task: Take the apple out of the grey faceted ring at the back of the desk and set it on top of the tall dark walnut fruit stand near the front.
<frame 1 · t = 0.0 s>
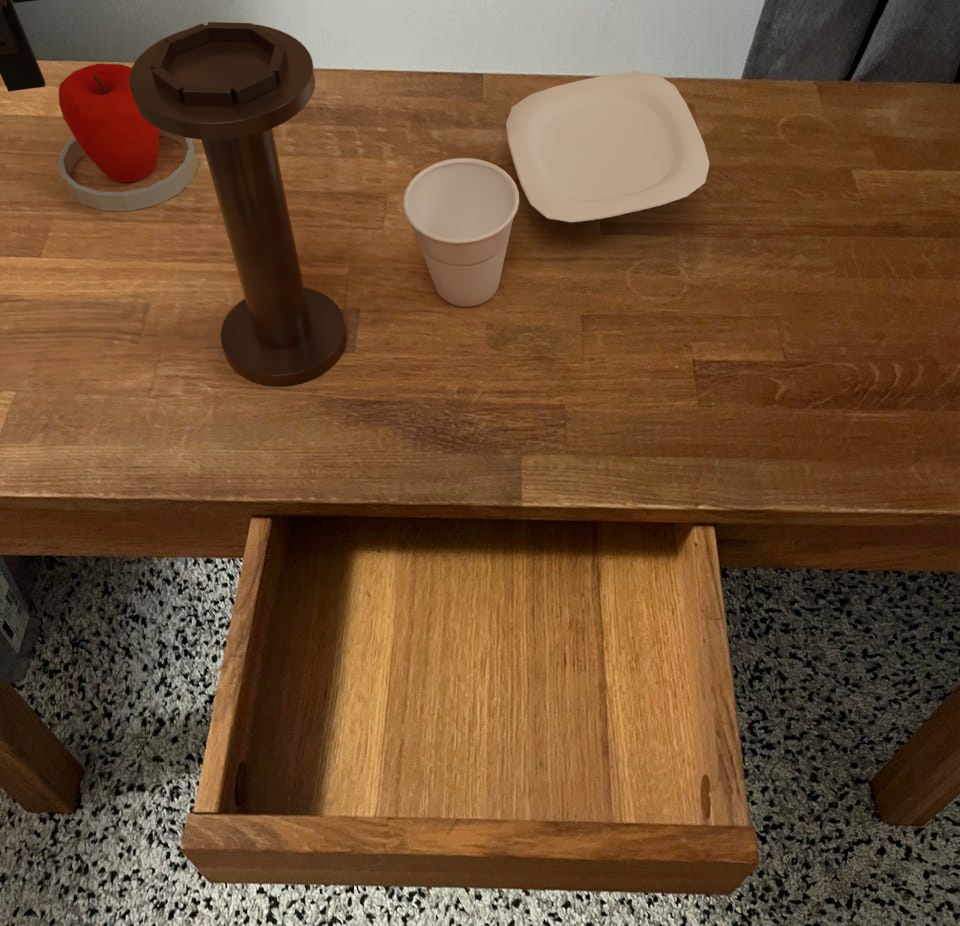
hand: (28, 41, 71), 20 cm above the table, tool pointing down, fingers open, 13 cm apart
cup: (467, 285, 84), on the table
apple: (132, 171, 93), resting in grey faceted ring
plate: (604, 156, 86), point 6 cm above the table
grey faceted ring: (132, 169, 93), on the table
holder: (221, 69, 58), on the table
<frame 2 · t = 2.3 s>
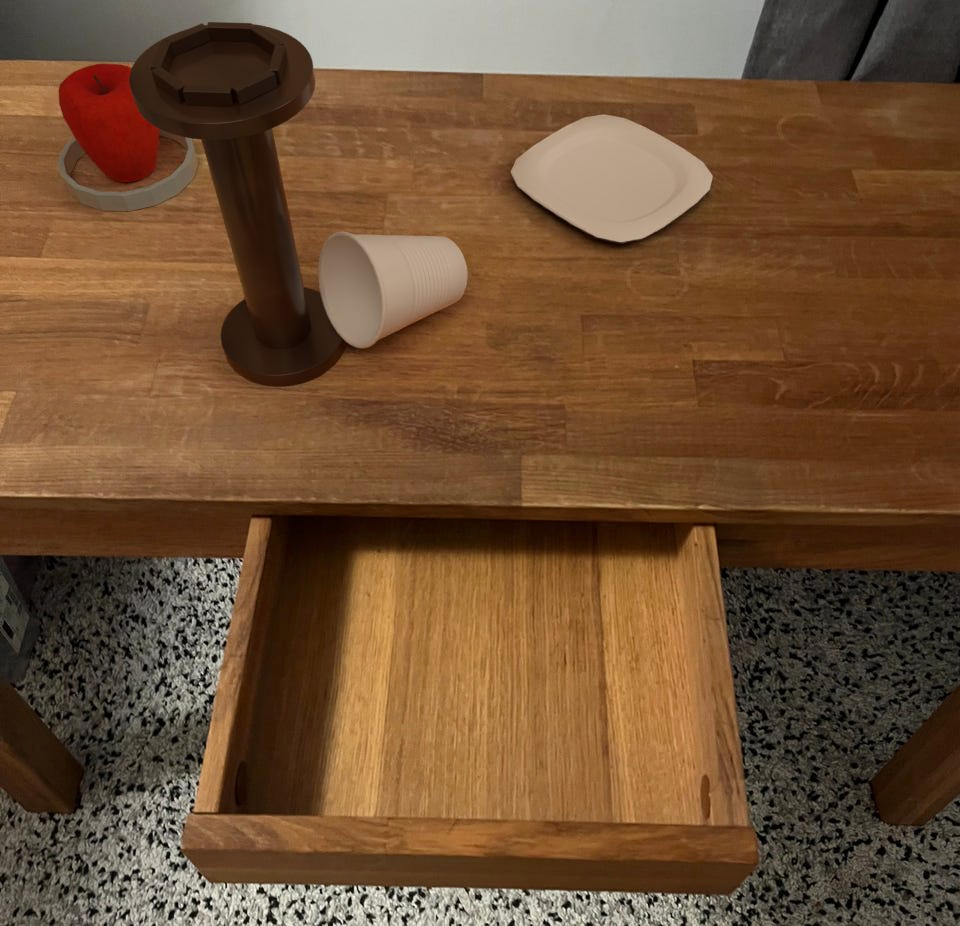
cup: (450, 269, 80), point 3 cm above the table, touching holder
plate: (609, 187, 93), on the table
everything else where it was.
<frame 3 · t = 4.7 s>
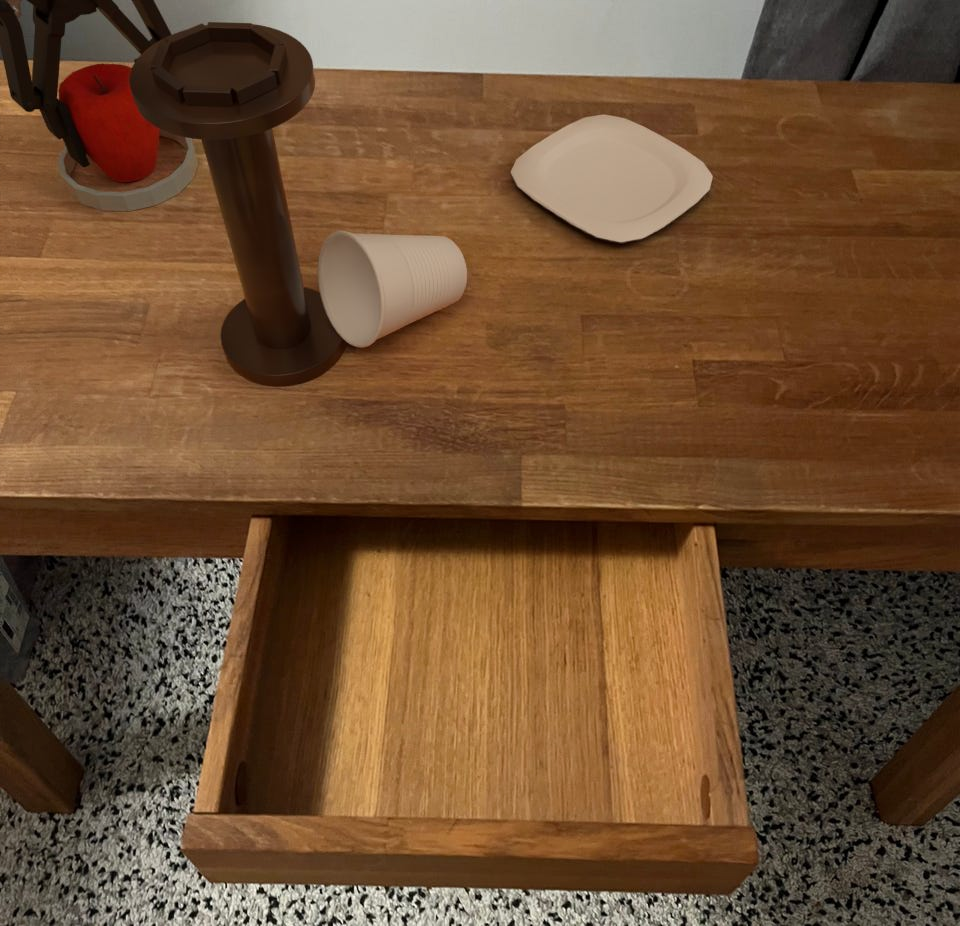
hand: (122, 140, 90), 3 cm above the table, tool pointing down, fingers closed on apple, 9 cm apart
apple: (132, 171, 93), resting in grey faceted ring, touching gripper
everything else where it was.
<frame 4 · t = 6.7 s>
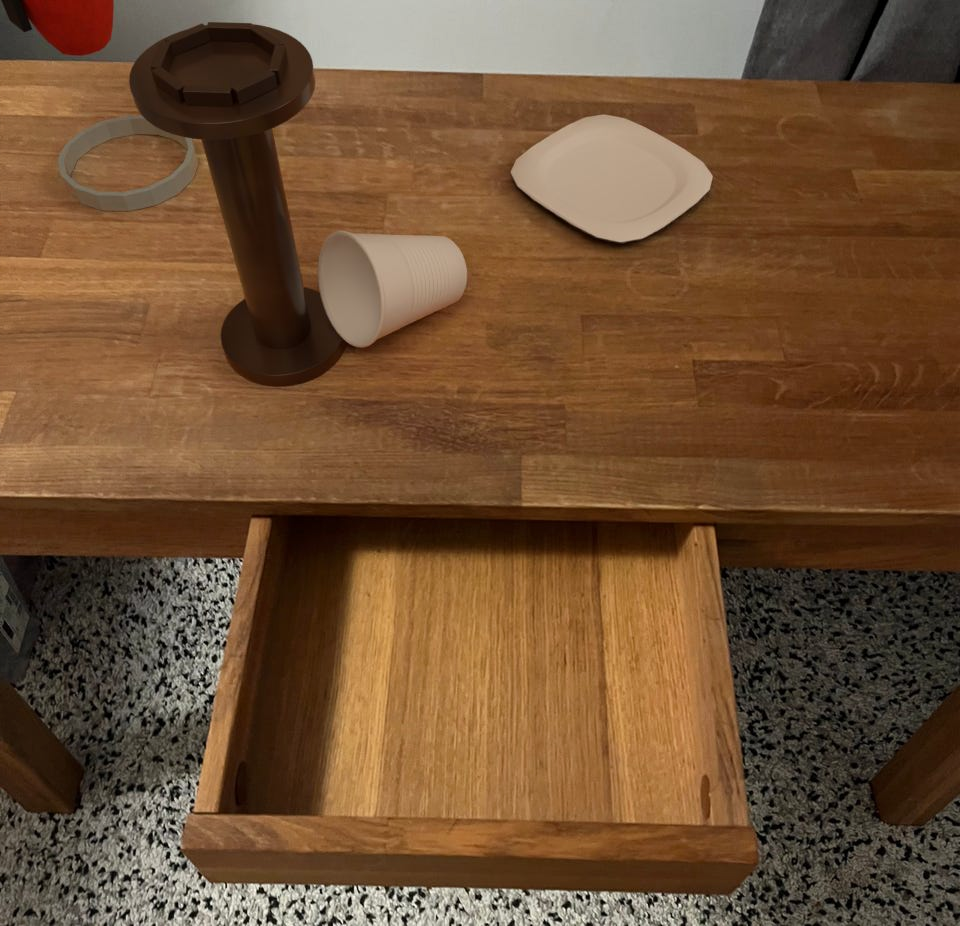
hand: (71, 6, 78), 17 cm above the table, tool pointing down, fingers closed on apple, 9 cm apart
apple: (84, 46, 81), point 14 cm above the table, touching gripper
everything else where it was.
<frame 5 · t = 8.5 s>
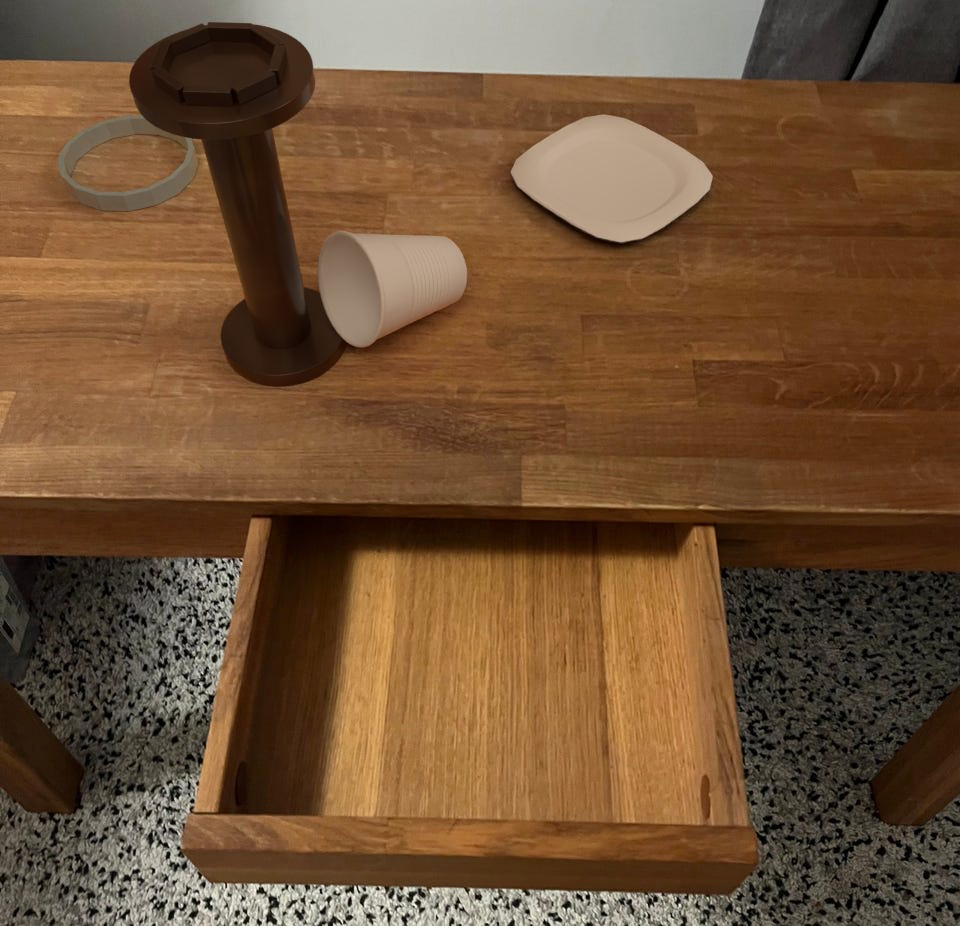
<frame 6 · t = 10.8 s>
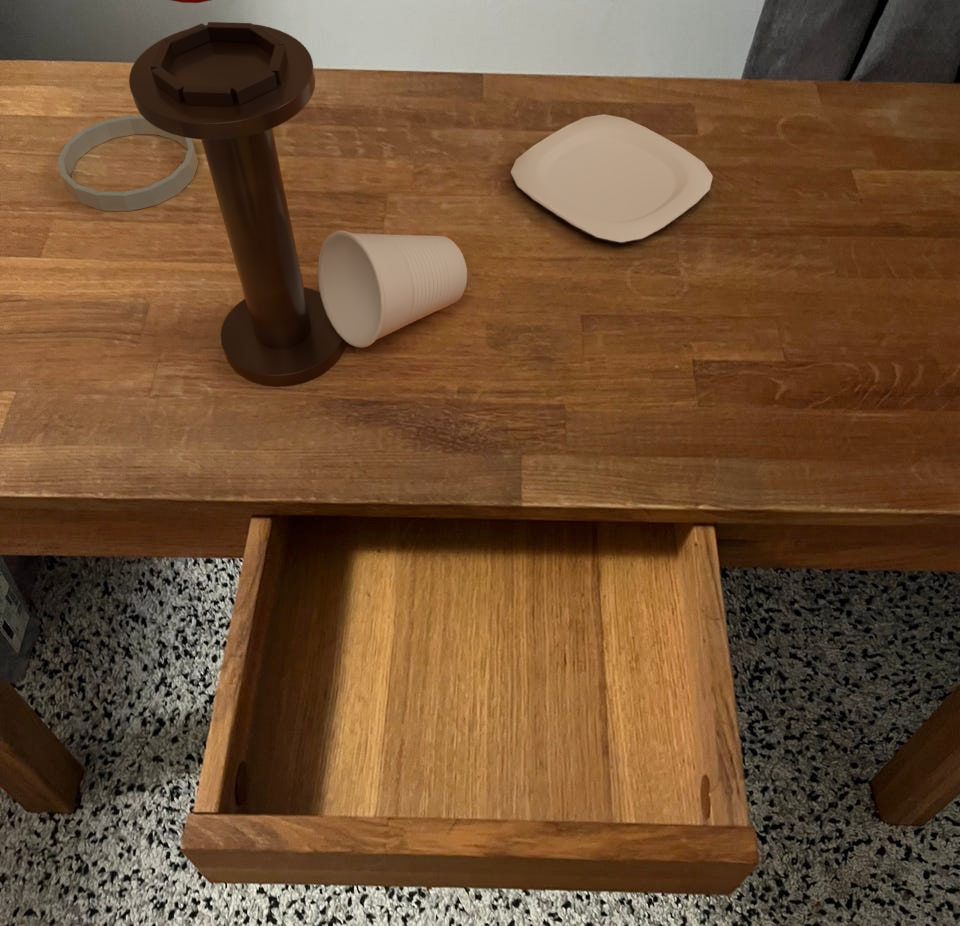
when the fingers open (29 cm above the table, at t = 12.6 s): apple stays where it is, resting on holder.
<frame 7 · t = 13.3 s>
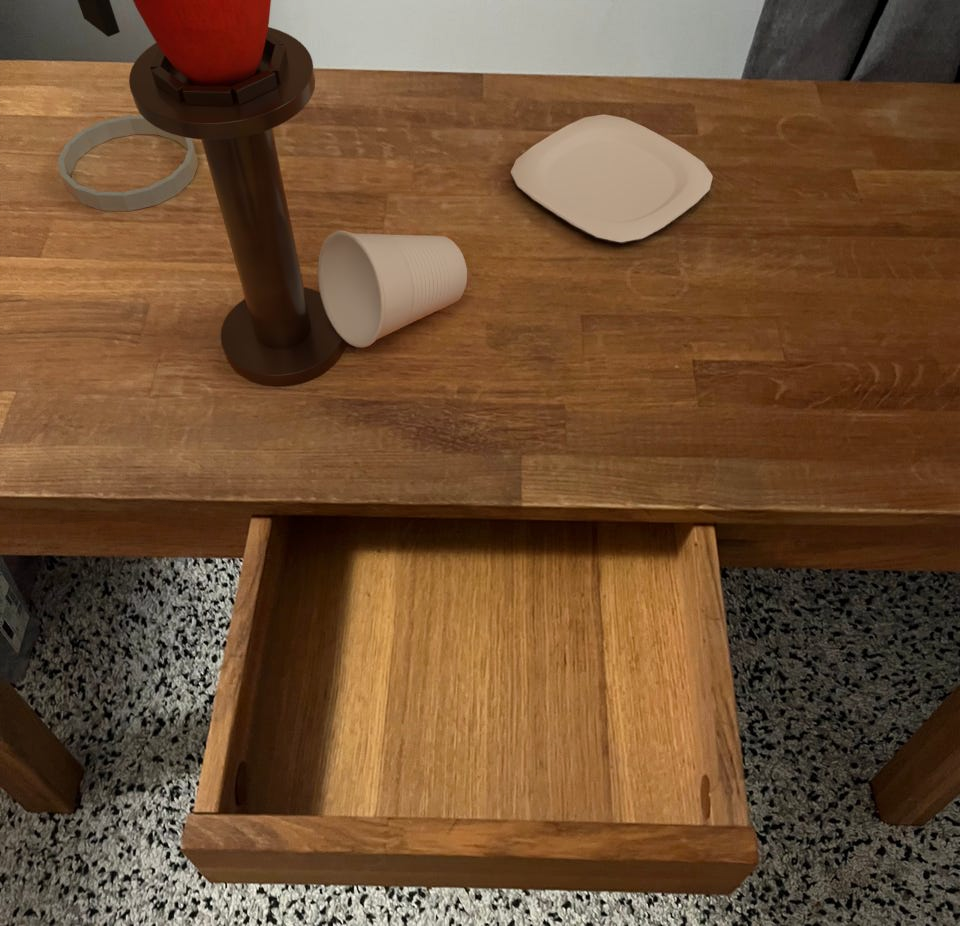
apple: (222, 72, 58), point 26 cm above the table, touching holder
everything else where it was.
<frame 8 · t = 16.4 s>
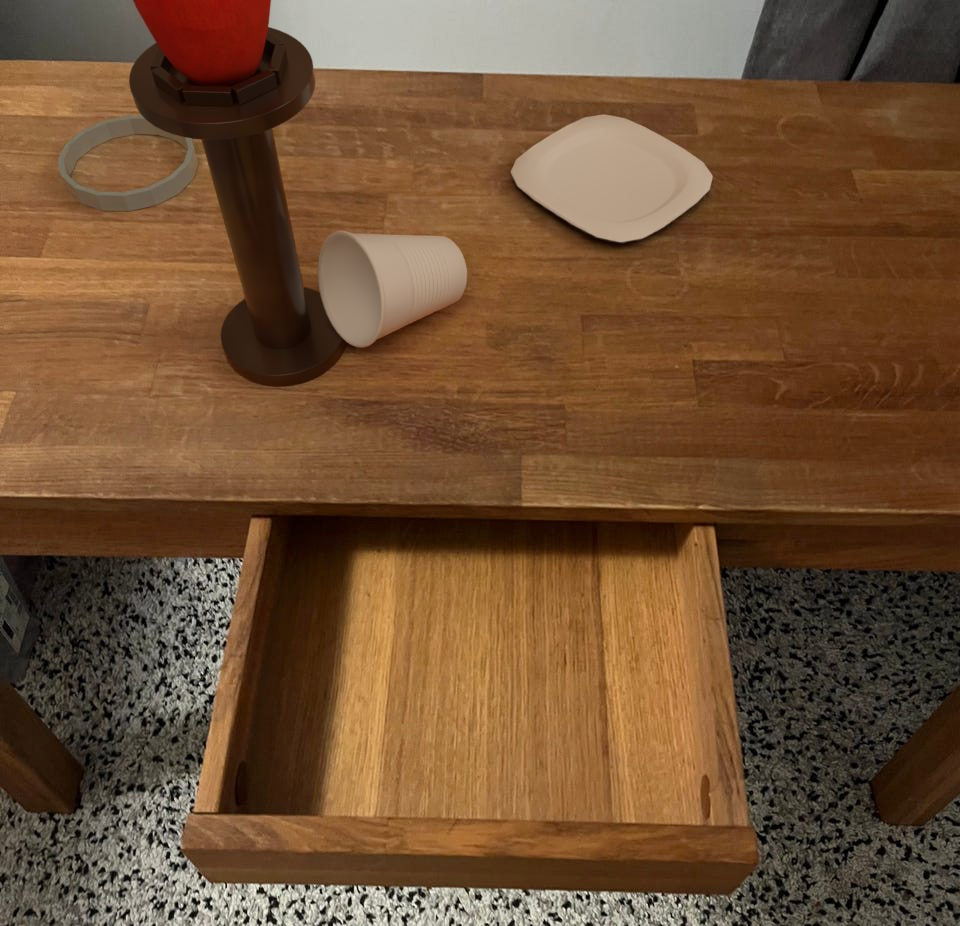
nothing on the table moved.
at the end: apple inside the target area on the holder (0.0 cm from its centre), point 0.0 cm above the holder's base; the gripper is holding nothing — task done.
